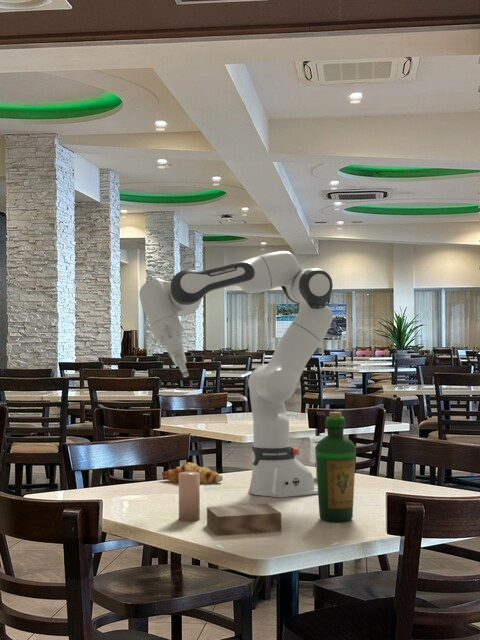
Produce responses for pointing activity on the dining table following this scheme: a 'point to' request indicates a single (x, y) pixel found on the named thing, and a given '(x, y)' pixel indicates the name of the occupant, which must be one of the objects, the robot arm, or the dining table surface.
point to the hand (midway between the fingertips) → (185, 373)
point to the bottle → (335, 472)
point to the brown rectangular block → (243, 519)
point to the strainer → (312, 447)
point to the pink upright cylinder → (189, 496)
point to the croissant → (205, 472)
